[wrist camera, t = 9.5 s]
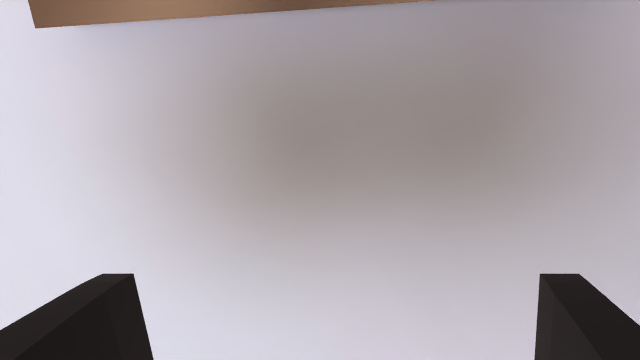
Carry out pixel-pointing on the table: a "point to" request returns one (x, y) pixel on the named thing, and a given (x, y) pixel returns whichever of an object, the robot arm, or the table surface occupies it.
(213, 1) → the guide lane
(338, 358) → the table surface
